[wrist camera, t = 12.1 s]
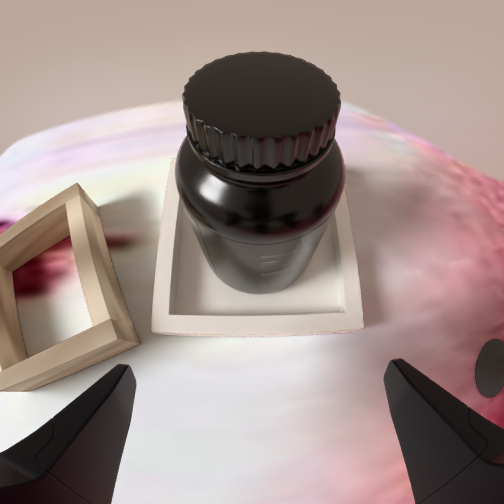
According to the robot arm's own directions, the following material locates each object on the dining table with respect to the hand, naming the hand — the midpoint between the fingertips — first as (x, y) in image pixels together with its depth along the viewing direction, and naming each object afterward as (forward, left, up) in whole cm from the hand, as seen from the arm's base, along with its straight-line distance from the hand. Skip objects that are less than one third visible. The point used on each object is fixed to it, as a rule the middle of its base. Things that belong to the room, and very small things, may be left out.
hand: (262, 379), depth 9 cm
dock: (+3, -7, -8) cm, 11 cm away
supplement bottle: (+3, -7, -8) cm, 11 cm away
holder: (+15, +3, -8) cm, 17 cm away
